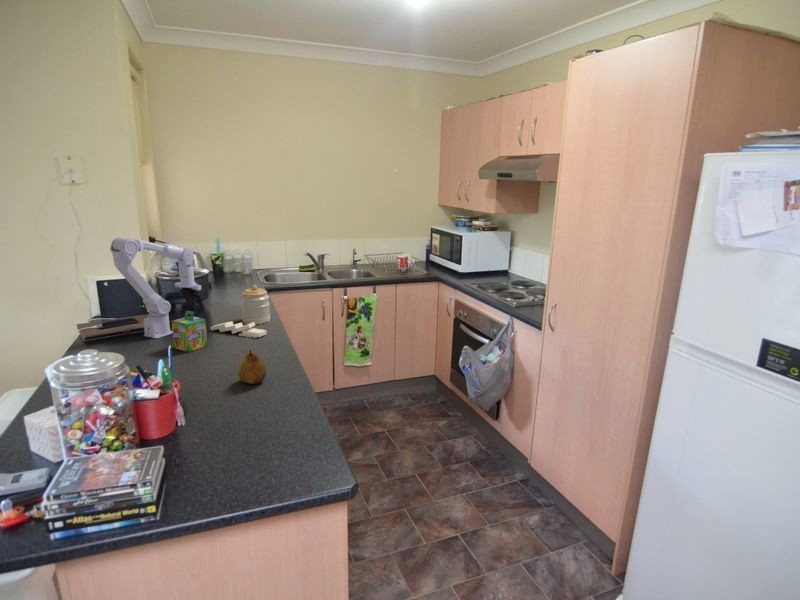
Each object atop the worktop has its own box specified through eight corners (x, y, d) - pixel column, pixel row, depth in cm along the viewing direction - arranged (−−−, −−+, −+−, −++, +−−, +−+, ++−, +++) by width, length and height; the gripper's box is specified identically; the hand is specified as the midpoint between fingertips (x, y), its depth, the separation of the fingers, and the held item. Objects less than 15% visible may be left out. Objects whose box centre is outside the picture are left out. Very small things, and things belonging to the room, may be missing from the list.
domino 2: (227, 329, 210) (243, 325, 206) (220, 332, 205) (235, 328, 202) (226, 325, 210) (241, 322, 206) (219, 328, 205) (234, 325, 202)
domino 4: (246, 334, 206) (263, 336, 203) (238, 337, 202) (256, 340, 199) (245, 330, 206) (263, 333, 203) (238, 334, 201) (256, 336, 198)
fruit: (250, 374, 161) (248, 341, 158) (271, 379, 158) (270, 345, 155) (232, 384, 153) (229, 349, 150) (255, 389, 150) (252, 353, 147)
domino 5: (250, 331, 206) (266, 333, 202) (242, 334, 201) (259, 337, 198) (250, 327, 205) (266, 330, 202) (242, 330, 201) (259, 333, 197)
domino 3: (238, 331, 207) (255, 325, 205) (232, 333, 203) (249, 327, 200) (237, 327, 207) (254, 321, 205) (231, 330, 203) (248, 324, 200)
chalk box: (173, 348, 185) (169, 312, 181) (192, 342, 192) (189, 307, 189) (189, 353, 180) (185, 316, 177) (208, 346, 188) (205, 310, 185)
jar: (274, 318, 228) (272, 282, 224) (264, 325, 216) (262, 288, 212) (248, 317, 230) (246, 281, 225) (237, 324, 217) (234, 287, 213)
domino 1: (219, 327, 212) (233, 324, 208) (211, 330, 208) (225, 327, 204) (218, 324, 212) (232, 321, 208) (210, 327, 207) (224, 323, 203)
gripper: (205, 274, 208) (208, 303, 212) (182, 271, 214) (186, 300, 218) (192, 277, 202) (196, 307, 206) (169, 274, 208) (173, 303, 212)
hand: (190, 304), depth 211 cm, fingers closed
